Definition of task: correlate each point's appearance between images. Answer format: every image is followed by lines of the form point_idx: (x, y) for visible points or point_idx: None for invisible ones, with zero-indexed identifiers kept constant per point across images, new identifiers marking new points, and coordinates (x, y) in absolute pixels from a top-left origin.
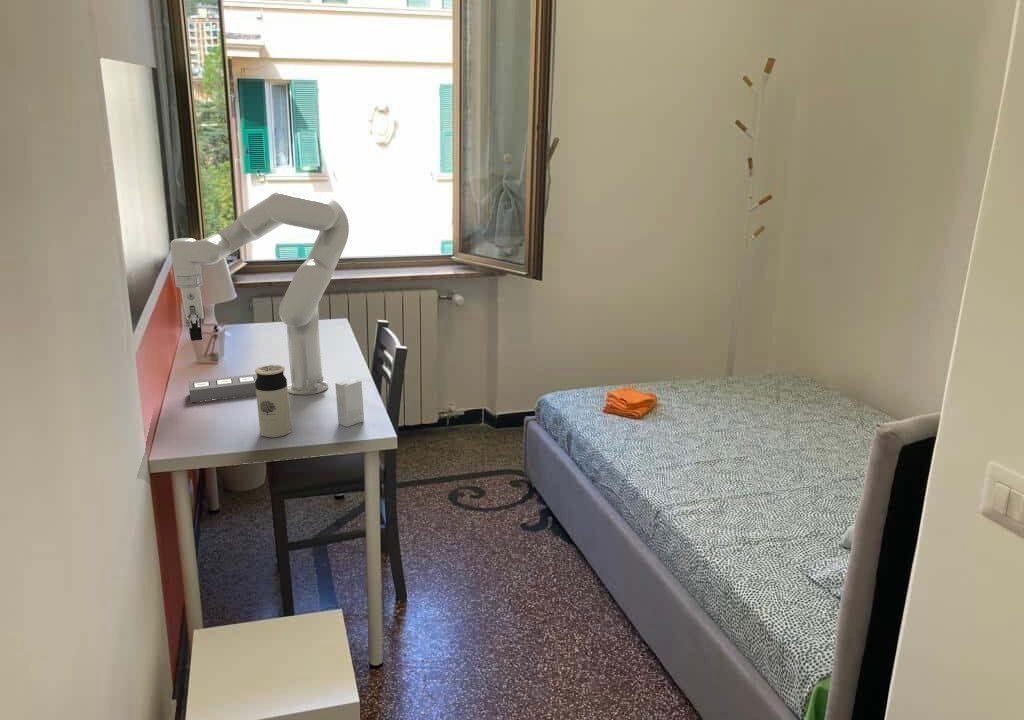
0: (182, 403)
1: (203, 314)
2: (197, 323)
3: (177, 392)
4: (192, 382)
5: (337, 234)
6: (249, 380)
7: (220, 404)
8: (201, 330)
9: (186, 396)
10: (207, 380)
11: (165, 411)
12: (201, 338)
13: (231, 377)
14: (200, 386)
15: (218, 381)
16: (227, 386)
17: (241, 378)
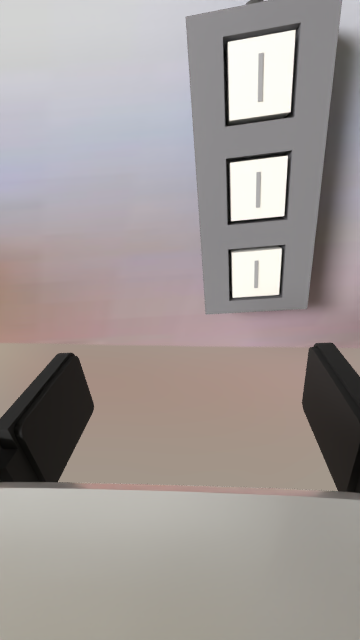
0: (284, 313)
1: (348, 565)
2: (45, 419)
3: (180, 330)
4: (220, 303)
5: None
6: (287, 58)
7: (354, 202)
8: (68, 356)
9: None
10: (215, 257)
11: None
12: (333, 349)
13: (206, 161)
14: (279, 276)
15: (246, 214)
16: (321, 172)
17: (239, 108)
